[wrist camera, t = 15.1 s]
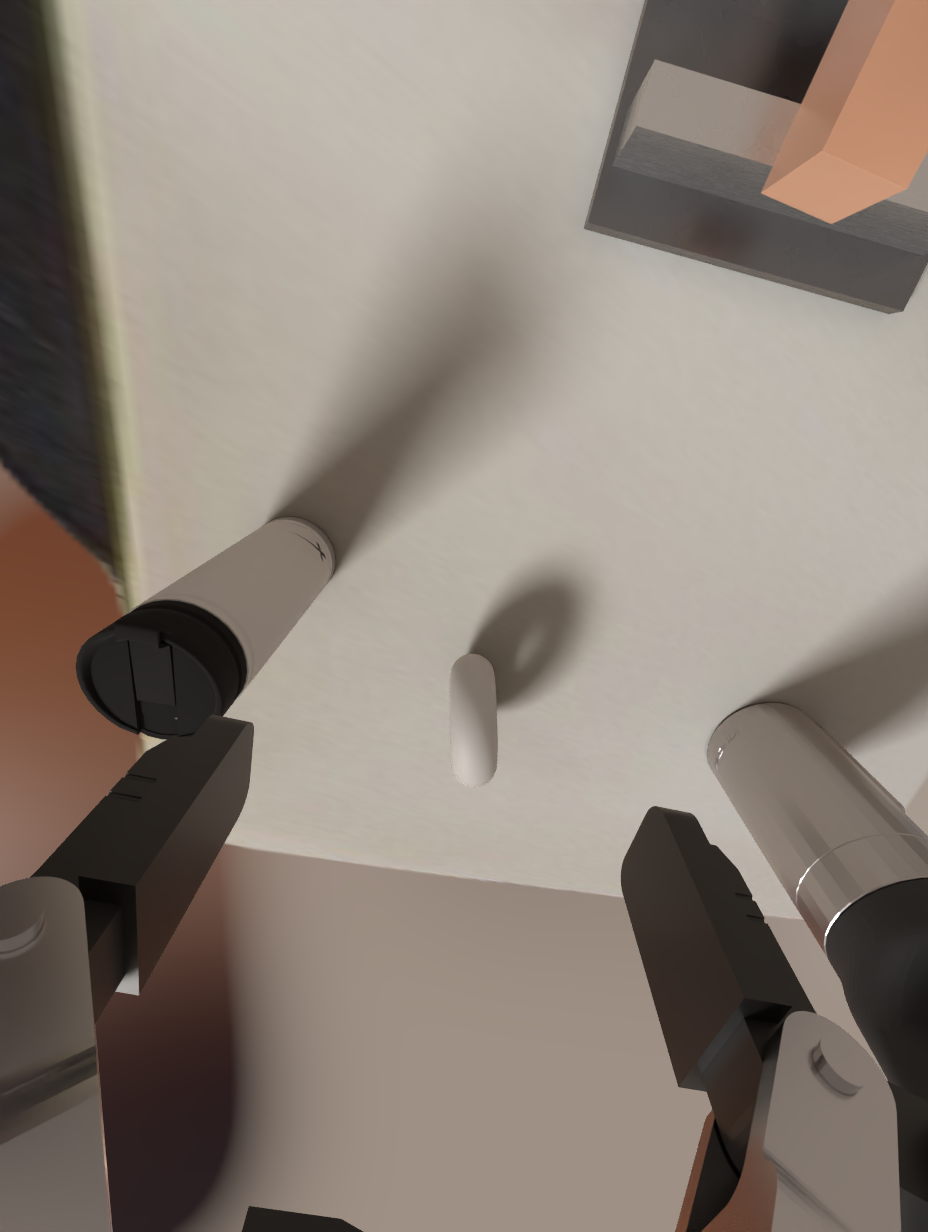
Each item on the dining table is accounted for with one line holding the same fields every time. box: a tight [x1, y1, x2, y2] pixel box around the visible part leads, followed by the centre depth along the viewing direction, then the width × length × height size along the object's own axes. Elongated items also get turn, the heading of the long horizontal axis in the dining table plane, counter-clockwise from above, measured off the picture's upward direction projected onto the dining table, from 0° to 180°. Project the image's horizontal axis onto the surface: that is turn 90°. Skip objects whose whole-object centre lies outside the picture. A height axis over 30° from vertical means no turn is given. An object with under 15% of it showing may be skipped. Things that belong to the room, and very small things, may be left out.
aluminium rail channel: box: [584, 0, 928, 314], centre depth 26 cm, size 20×17×6 cm
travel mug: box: [76, 517, 335, 739], centre depth 31 cm, size 6×7×20 cm
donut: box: [449, 654, 498, 787], centre depth 40 cm, size 10×4×10 cm, turn 1°
